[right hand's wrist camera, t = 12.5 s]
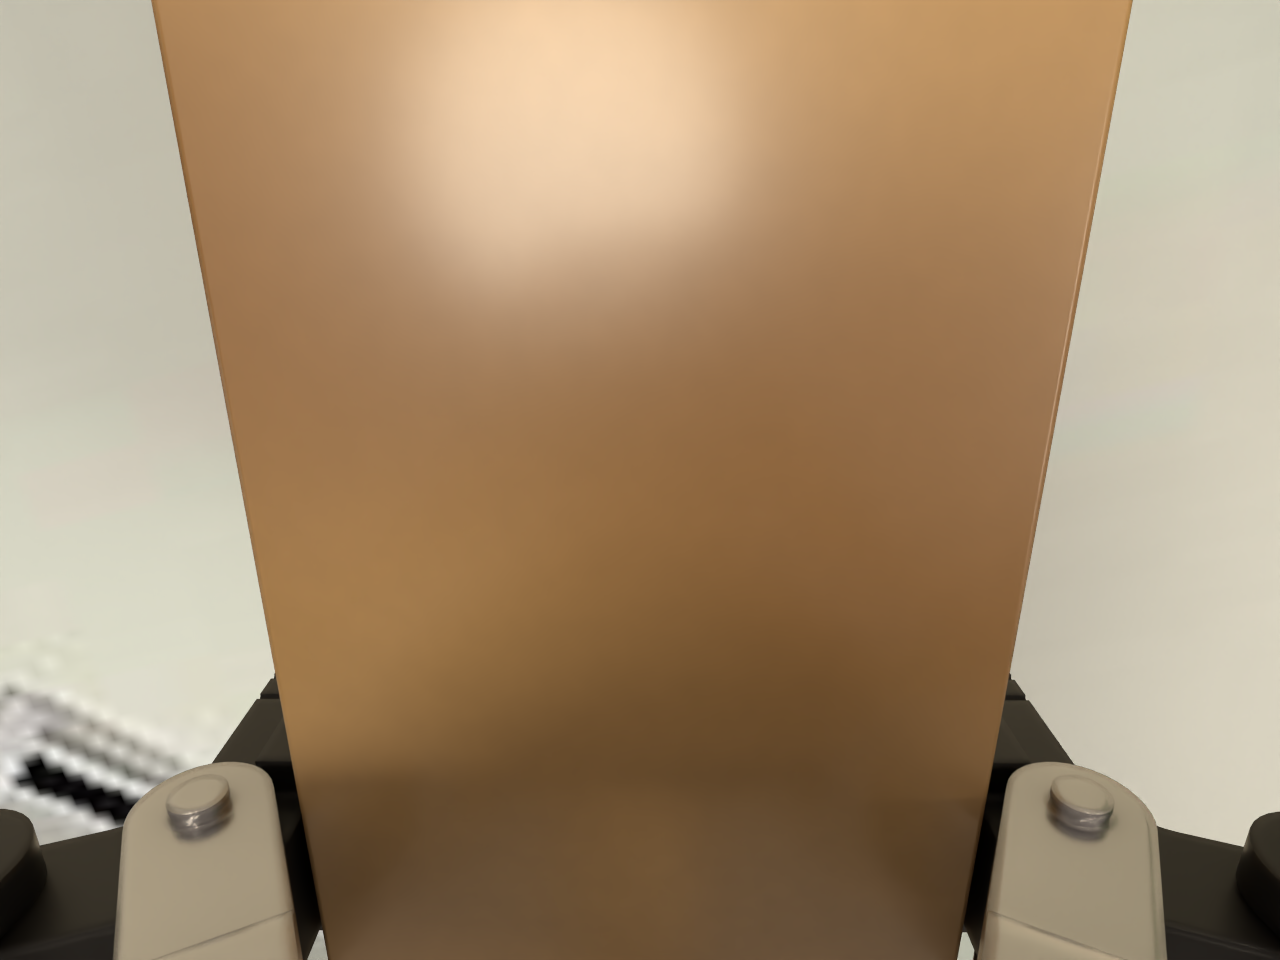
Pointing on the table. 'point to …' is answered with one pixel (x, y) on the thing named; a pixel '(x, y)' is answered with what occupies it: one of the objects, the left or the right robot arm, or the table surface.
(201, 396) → the table surface
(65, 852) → the right robot arm
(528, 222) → the box
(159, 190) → the table surface
